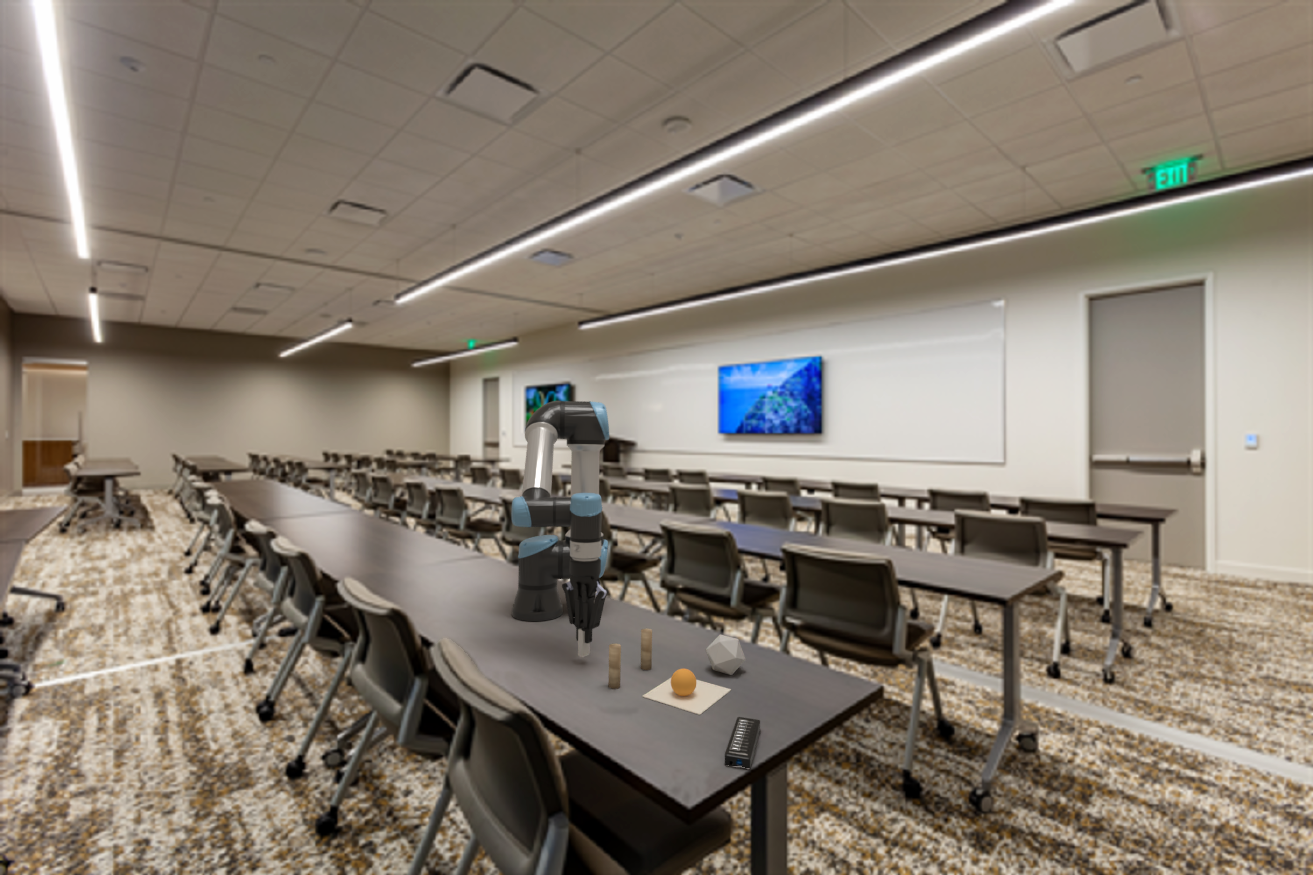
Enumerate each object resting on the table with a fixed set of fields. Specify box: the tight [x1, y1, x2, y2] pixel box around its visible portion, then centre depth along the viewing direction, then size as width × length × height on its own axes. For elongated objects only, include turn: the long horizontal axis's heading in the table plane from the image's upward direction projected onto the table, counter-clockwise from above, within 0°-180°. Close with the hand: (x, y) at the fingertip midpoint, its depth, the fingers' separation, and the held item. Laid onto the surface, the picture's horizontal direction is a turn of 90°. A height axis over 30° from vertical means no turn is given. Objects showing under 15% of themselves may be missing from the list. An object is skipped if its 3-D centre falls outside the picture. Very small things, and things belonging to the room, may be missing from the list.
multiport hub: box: [724, 716, 761, 768], centre depth 109 cm, size 4×14×2 cm, turn 164°
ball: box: [670, 668, 697, 696], centre depth 130 cm, size 6×6×6 cm
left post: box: [608, 643, 622, 690], centre depth 133 cm, size 3×3×9 cm
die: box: [705, 634, 747, 676], centre depth 143 cm, size 8×9×10 cm
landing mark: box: [641, 677, 732, 716], centre depth 130 cm, size 14×14×1 cm
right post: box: [640, 628, 653, 671], centre depth 144 cm, size 3×3×9 cm
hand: (583, 654), depth 146 cm, fingers closed
